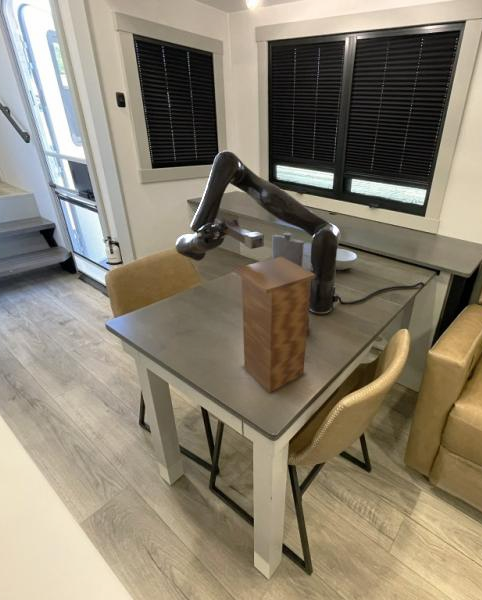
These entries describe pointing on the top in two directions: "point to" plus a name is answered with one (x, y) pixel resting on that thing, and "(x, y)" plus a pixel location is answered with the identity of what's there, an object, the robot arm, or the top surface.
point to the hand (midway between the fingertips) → (230, 223)
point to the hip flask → (288, 248)
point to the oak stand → (275, 319)
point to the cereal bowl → (345, 259)
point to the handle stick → (243, 234)
